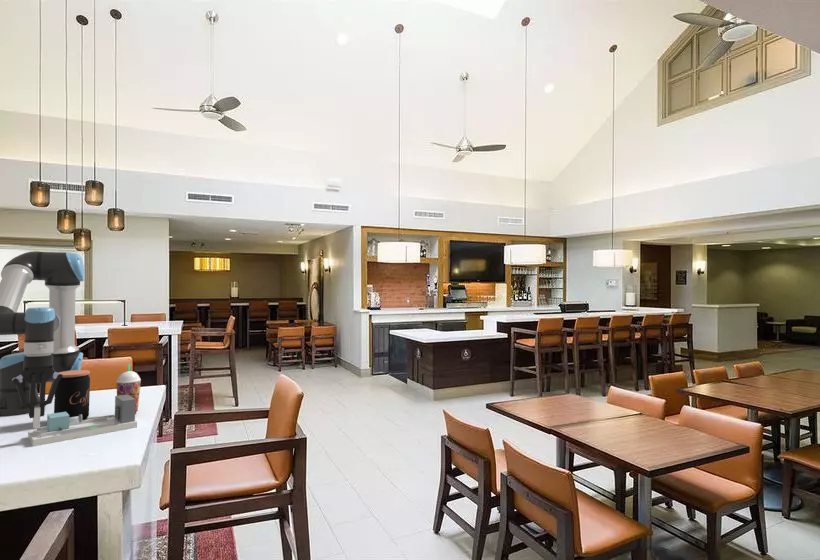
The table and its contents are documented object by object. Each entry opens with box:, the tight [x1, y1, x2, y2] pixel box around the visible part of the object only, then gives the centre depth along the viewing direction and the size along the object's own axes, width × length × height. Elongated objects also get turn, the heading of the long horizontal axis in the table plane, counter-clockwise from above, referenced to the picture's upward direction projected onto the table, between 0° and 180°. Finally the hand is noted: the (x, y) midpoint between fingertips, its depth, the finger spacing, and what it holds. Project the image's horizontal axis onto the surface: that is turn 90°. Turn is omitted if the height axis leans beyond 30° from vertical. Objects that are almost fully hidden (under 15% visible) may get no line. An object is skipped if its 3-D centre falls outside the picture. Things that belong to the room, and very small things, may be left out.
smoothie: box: [115, 363, 142, 415], centre depth 178 cm, size 8×8×20 cm
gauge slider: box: [46, 412, 82, 432], centre depth 152 cm, size 9×9×5 cm
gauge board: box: [27, 394, 138, 447], centre depth 156 cm, size 12×29×10 cm, turn 136°
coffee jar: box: [53, 369, 91, 423], centre depth 170 cm, size 11×11×18 cm
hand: (36, 427), depth 147 cm, fingers closed
